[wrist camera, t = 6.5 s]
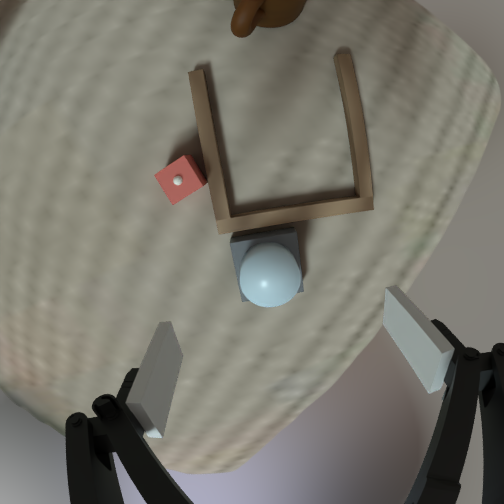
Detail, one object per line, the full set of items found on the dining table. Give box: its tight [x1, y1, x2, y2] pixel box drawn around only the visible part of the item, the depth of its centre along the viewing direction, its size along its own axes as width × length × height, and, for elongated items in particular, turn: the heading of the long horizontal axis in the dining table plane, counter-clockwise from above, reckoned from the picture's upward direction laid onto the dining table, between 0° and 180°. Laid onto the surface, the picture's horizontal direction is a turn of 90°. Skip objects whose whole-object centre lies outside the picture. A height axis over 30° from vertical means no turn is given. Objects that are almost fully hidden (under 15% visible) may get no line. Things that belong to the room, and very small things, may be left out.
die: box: [154, 155, 208, 205], centre depth 27 cm, size 4×4×4 cm
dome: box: [240, 242, 301, 307], centre depth 29 cm, size 6×6×3 cm
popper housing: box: [230, 227, 304, 302], centre depth 32 cm, size 7×7×2 cm
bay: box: [188, 54, 374, 234], centre depth 27 cm, size 17×18×2 cm
